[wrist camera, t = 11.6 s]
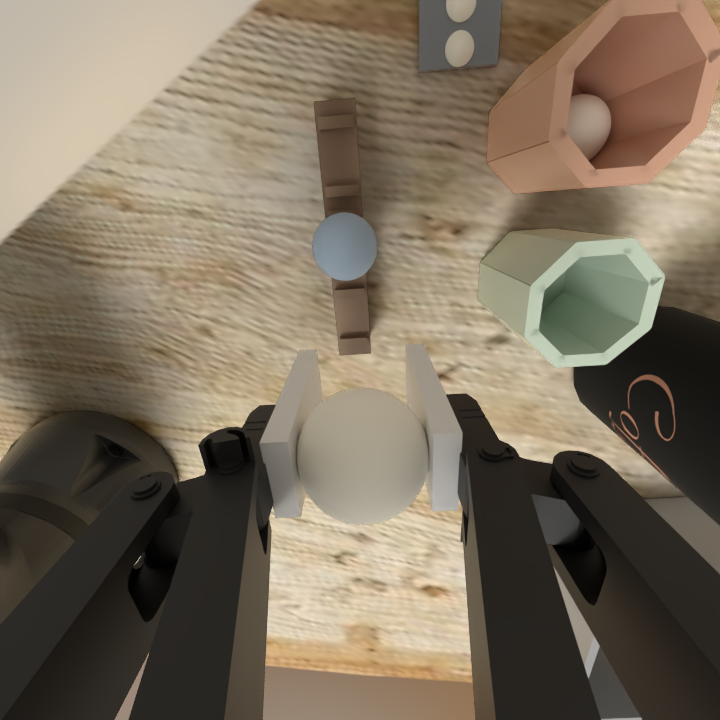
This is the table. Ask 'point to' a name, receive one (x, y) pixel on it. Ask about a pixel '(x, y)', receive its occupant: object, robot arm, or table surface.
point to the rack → (340, 197)
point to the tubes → (582, 159)
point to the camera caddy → (607, 689)
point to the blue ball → (344, 246)
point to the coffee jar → (666, 401)
